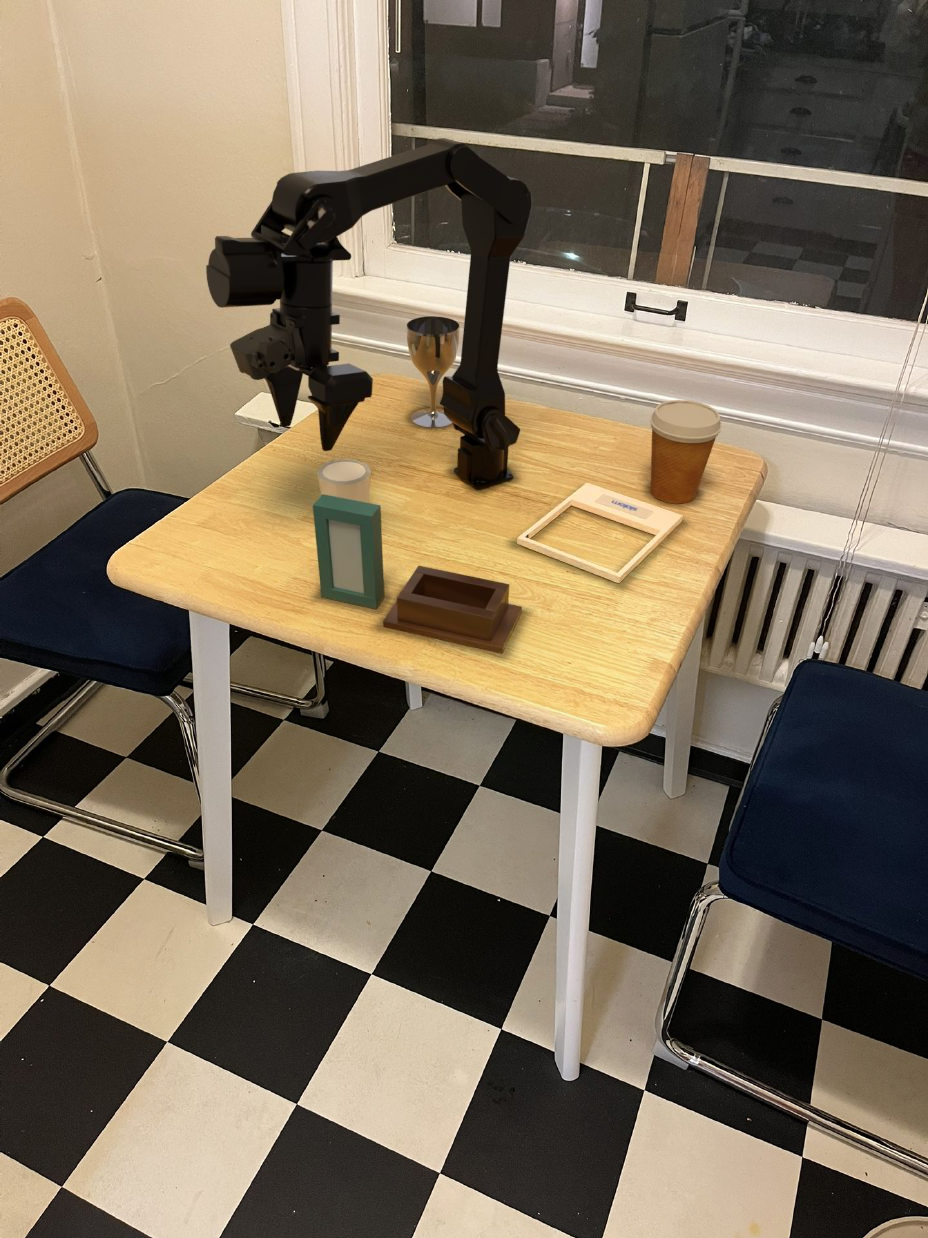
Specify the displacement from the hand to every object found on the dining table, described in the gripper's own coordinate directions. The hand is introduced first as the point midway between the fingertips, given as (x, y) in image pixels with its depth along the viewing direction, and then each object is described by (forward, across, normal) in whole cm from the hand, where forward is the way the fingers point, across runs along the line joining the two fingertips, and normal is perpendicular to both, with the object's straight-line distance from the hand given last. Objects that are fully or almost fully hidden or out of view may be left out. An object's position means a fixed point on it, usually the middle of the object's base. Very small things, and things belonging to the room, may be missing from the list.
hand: (305, 437), depth 108 cm
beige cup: (+13, -2, +8) cm, 16 cm away
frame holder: (+15, +24, +5) cm, 28 cm away
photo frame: (+11, +21, +32) cm, 40 cm away
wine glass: (+9, -19, +36) cm, 41 cm away
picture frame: (+15, +13, -2) cm, 20 cm away
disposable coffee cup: (+9, +20, +47) cm, 52 cm away
